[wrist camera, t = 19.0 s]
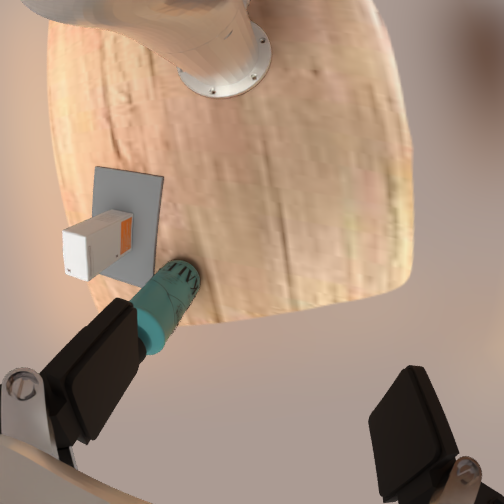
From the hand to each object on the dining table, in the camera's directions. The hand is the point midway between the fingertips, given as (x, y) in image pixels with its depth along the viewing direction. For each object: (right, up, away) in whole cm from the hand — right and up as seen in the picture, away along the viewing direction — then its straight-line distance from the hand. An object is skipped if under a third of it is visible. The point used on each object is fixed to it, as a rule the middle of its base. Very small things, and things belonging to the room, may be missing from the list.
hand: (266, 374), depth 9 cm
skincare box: (-20, +8, +32) cm, 39 cm away
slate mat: (-20, +8, +33) cm, 39 cm away
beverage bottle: (-11, +1, +34) cm, 36 cm away
